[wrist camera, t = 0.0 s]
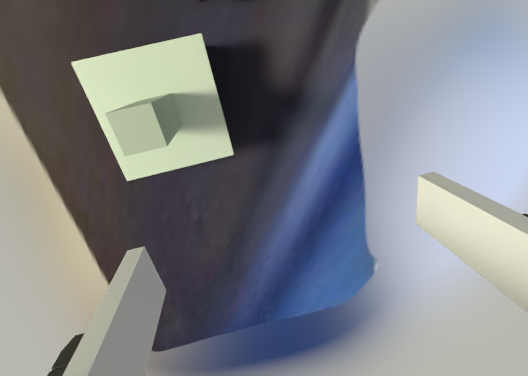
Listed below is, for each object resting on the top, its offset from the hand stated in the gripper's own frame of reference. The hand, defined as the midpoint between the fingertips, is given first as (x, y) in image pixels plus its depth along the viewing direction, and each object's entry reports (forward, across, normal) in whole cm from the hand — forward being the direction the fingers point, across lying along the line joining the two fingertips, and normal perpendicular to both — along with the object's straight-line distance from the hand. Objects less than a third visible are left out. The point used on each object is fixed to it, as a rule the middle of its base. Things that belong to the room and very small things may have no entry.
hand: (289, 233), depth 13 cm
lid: (+22, -9, +5) cm, 24 cm away
